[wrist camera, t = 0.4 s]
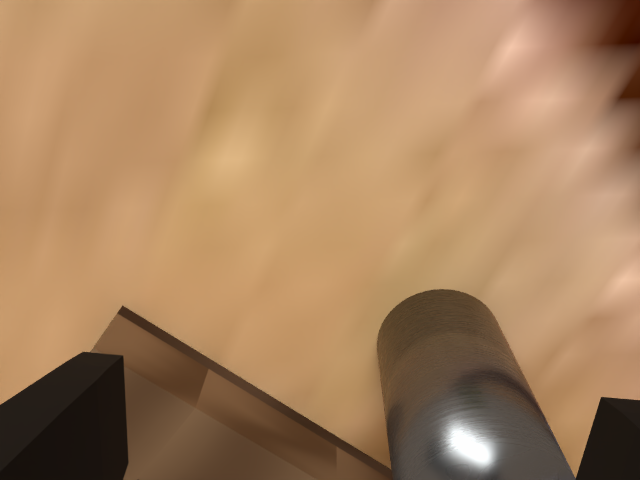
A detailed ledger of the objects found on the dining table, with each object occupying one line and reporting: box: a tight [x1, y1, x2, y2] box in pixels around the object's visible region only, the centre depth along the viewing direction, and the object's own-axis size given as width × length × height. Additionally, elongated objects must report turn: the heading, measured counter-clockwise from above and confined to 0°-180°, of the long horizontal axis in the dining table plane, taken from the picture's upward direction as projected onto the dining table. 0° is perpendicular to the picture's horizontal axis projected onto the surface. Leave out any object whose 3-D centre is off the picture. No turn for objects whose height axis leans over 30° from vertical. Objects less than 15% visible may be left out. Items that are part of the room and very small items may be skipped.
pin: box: [377, 289, 576, 480], centre depth 16 cm, size 4×4×7 cm
